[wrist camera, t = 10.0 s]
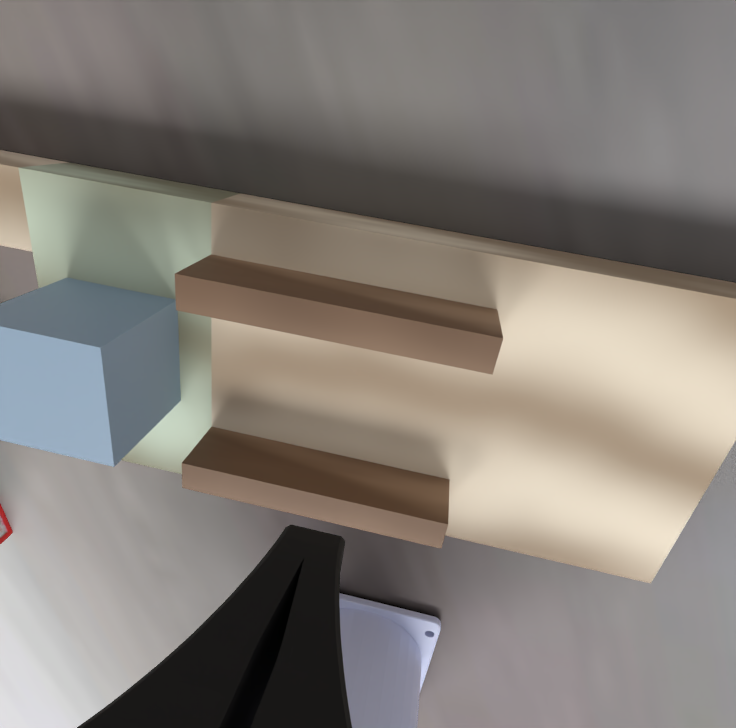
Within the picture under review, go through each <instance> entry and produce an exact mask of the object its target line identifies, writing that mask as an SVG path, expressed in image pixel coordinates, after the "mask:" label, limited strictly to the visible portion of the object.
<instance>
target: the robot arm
mask: <svg viewBox="0 0 736 728" xmlns="http://www.w3.org/2000/svg"><path fill="white" fill-rule="evenodd" d="M344 546H345V540H344V539H343V538H342V537H341V536H337V535H333V534H328V533H324V532H320V531H316V530H311V529H307V528H303V527H298V526H294V525H290V526H288V527H286V528H285V529H284V531H283V532H282V534H281V535H280V537H279V538H278V540H277V541H276V542H275V544H274V545H273V546H272V548H271V549H270V550H269V551H268V553H267V554H266V555H265V556H264V558H263V559H262V560H261V561H260V562H259V564H258V565H257V566H256V567H255V569H254V570H253V571H252V572H251V573H250V574H249V575H248V577H247V578H246V579H245V580H244V581H243V582H242V583H241V584H240V585H239V587H238V588H237V589H236V590H235V591H234V592H233V593H232V594H231V596H230V597H229V598H228V599H227V600H226V601H225V602H224V603H223V604H222V605H221V606H220V607H219V608H218V609H217V610H216V611H215V612H214V613H213V614H212V615H211V616H210V617H209V618H208V619H207V620H206V621H205V622H204V623H203V624H202V625H201V626H200V627H199V628H198V629H197V630H196V631H195V632H194V633H193V634H192V635H191V636H190V637H189V638H187V639H186V640H185V641H184V642H183V643H182V644H181V645H180V646H179V647H178V648H177V649H175V650H174V651H173V652H172V653H171V654H170V655H169V656H168V657H166V658H165V659H164V660H163V661H162V662H161V663H160V664H158V665H157V666H156V667H155V668H154V669H152V670H151V671H150V672H149V673H148V674H146V675H145V676H144V677H143V678H141V679H140V680H139V681H138V682H137V683H135V684H134V685H133V686H132V687H130V688H129V689H128V690H127V691H126V692H124V693H123V694H122V695H120V696H119V697H118V698H117V699H115V700H114V701H113V702H111V703H110V704H109V705H108V706H106V707H105V708H104V709H102V710H101V711H100V712H98V713H97V714H95V715H94V716H93V717H91V718H90V719H88V720H87V721H86V722H84V723H83V724H81V725H80V726H79V727H77V728H417V723H418V709H419V694H420V691H421V688H422V685H423V682H424V679H425V676H426V673H427V670H428V667H429V664H430V661H431V658H432V655H433V652H434V649H435V645H436V642H437V639H438V636H439V633H440V630H441V621H440V620H439V619H438V618H437V617H434V616H431V615H427V614H422V613H418V612H414V611H410V610H406V609H402V608H398V607H394V606H390V605H386V604H382V603H378V602H374V601H370V600H366V599H362V598H358V597H354V596H350V595H345V594H341V593H339V587H340V570H341V564H342V558H343V552H344Z"/></svg>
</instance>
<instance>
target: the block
mask: <svg viewBox="0 0 736 728" xmlns="http://www.w3.org/2000/svg"><path fill="white" fill-rule="evenodd" d="M180 401H181V390H180V361H179V332H178V311H177V310H176V299H171V298H166V297H161V296H156V295H151V294H146V293H141V292H136V291H132V290H127V289H122V288H117V287H112V286H107V285H102V284H97V283H92V282H87V281H82V280H77V279H72V278H64V279H62V280H59V281H57V282H54V283H52V284H49V285H47V286H44V287H41V288H39V289H36V290H34V291H31V292H29V293H26V294H23V295H21V296H18V297H16V298H13V299H11V300H8V301H6V302H3V303H0V440H2V441H6V442H11V443H15V444H19V445H23V446H28V447H32V448H36V449H40V450H45V451H49V452H53V453H57V454H62V455H66V456H70V457H74V458H79V459H83V460H87V461H92V462H96V463H100V464H104V465H109V466H113V467H114V466H115V465H116V464H117V463H119V462H120V461H121V460H122V459H123V458H124V457H125V456H126V455H127V454H128V453H129V452H130V451H131V450H132V449H133V448H134V447H135V446H136V445H137V444H138V443H139V442H140V441H141V440H142V439H143V438H144V437H145V436H146V435H147V434H148V433H149V432H150V431H151V430H152V429H153V428H154V427H155V426H156V425H157V424H158V423H159V422H160V421H161V420H162V419H163V418H164V417H165V416H166V415H167V414H168V413H169V412H170V411H171V410H172V409H173V408H174V407H175V406H176V405H177V404H178V403H179V402H180Z"/></svg>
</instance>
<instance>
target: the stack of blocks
mask: <svg viewBox="0 0 736 728" xmlns="http://www.w3.org/2000/svg"><path fill="white" fill-rule="evenodd" d="M12 533H13V532H12V529H11V527H10V525H9V522H8V520H7V518H6V515H5V513H4V511H3V509H2V506H1V504H0V544H1V543H2V542H3V541H5V540H6V539H7V538H8V537H9V536H10V535H11V534H12Z"/></svg>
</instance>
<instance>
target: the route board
mask: <svg viewBox="0 0 736 728" xmlns="http://www.w3.org/2000/svg"><path fill="white" fill-rule="evenodd" d="M0 245H2V246H7V247H12V248H17V249H22V250H27V251H32V252H33V258H34V263H35V269H36V275H37V281H38V287H39V288H41V287H44V286H47V285H49V284H52V283H54V282H57V281H59V280H62V279H64V278H72V279H77V280H82V281H87V282H92V283H97V284H102V285H107V286H112V287H117V288H122V289H127V290H132V291H136V292H141V293H146V294H151V295H156V296H161V297H166V298H171V299H176V310H177V311H178V332H179V361H180V390H181V401H180V402H179V403H178V404H177V405H176V406H175V407H174V408H173V409H172V410H171V411H170V412H169V413H168V414H167V415H166V416H165V417H164V418H163V419H162V420H161V421H160V422H159V423H158V424H157V425H156V426H155V427H154V428H153V429H152V430H151V431H150V432H149V433H148V434H147V435H146V436H145V437H144V438H143V439H142V440H141V441H140V442H139V443H138V444H137V445H136V446H135V447H134V448H133V449H132V450H131V451H130V452H129V453H128V454H127V455H126V456H125V457H124V458H123V459H122V460H123V461H127V462H131V463H136V464H140V465H144V466H149V467H153V468H157V469H161V470H166V471H170V472H174V473H179V474H182V488H185V489H190V490H194V491H198V492H202V493H207V494H211V495H215V496H219V497H224V498H228V499H232V500H236V501H241V502H245V503H249V504H253V505H258V506H262V507H266V508H270V509H275V510H279V511H283V512H287V513H292V514H296V515H300V516H304V517H309V518H313V519H317V520H322V521H326V522H330V523H334V524H339V525H343V526H347V527H351V528H356V529H360V530H364V531H368V532H373V533H377V534H381V535H385V536H390V537H394V538H398V539H402V540H407V541H411V542H415V543H419V544H424V545H428V546H432V547H436V548H442V544H443V541H444V537H445V536H449V537H454V538H458V539H462V540H467V541H471V542H475V543H480V544H484V545H488V546H492V547H497V548H501V549H505V550H510V551H514V552H518V553H523V554H527V555H531V556H535V557H540V558H544V559H548V560H553V561H557V562H561V563H566V564H570V565H574V566H578V567H583V568H587V569H591V570H596V571H600V572H604V573H609V574H613V575H617V576H621V577H626V578H630V579H634V580H639V581H643V582H647V583H651V582H652V580H653V579H654V577H655V575H656V574H657V572H658V570H659V568H660V567H661V565H662V563H663V562H664V560H665V558H666V557H667V555H668V553H669V552H670V550H671V548H672V547H673V545H674V543H675V542H676V540H677V538H678V536H679V535H680V533H681V531H682V530H683V528H684V526H685V525H686V523H687V521H688V520H689V518H690V516H691V515H692V513H693V511H694V510H695V508H696V506H697V504H698V503H699V501H700V499H701V498H702V496H703V494H704V493H705V491H706V489H707V488H708V486H709V484H710V483H711V481H712V479H713V478H714V476H715V474H716V472H717V471H718V469H719V467H720V466H721V464H722V462H723V461H724V459H725V457H726V456H727V454H728V452H729V451H730V449H731V447H732V446H733V444H734V442H735V440H736V283H734V282H729V281H723V280H718V279H712V278H706V277H701V276H695V275H690V274H684V273H679V272H673V271H668V270H662V269H657V268H651V267H646V266H640V265H634V264H629V263H623V262H618V261H612V260H607V259H601V258H596V257H590V256H585V255H579V254H574V253H568V252H562V251H557V250H551V249H546V248H540V247H535V246H529V245H524V244H518V243H513V242H507V241H502V240H496V239H490V238H485V237H479V236H474V235H468V234H463V233H457V232H452V231H446V230H441V229H435V228H429V227H424V226H418V225H413V224H407V223H402V222H396V221H391V220H385V219H380V218H374V217H369V216H363V215H357V214H352V213H346V212H341V211H335V210H330V209H324V208H319V207H313V206H308V205H302V204H297V203H291V202H285V201H280V200H274V199H269V198H263V197H258V196H252V195H247V194H241V193H236V192H230V191H225V190H219V189H213V188H208V187H202V186H197V185H191V184H186V183H180V182H175V181H169V180H164V179H158V178H153V177H147V176H141V175H136V174H130V173H125V172H119V171H114V170H108V169H103V168H97V167H92V166H86V165H81V164H75V163H69V162H64V161H58V160H53V159H47V158H42V157H36V156H31V155H25V154H20V153H14V152H9V151H3V150H0Z"/></svg>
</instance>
